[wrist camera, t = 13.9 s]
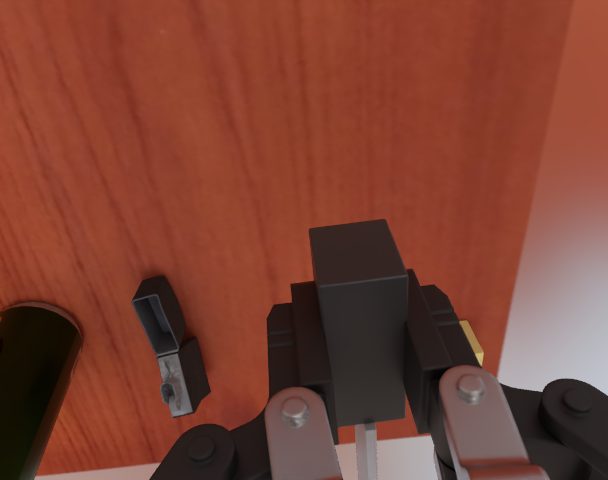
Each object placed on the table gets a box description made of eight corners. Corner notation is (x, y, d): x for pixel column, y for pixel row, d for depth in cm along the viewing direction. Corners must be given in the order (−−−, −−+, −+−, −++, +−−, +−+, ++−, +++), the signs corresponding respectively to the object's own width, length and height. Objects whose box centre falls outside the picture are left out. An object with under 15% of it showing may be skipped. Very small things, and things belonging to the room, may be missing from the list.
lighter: (149, 278, 33) (115, 288, 28) (179, 270, 33) (151, 278, 28) (181, 399, 33) (153, 431, 28) (211, 392, 33) (189, 422, 28)
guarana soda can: (93, 310, 31) (19, 503, 21) (78, 370, 34) (5, 567, 24) (-4, 287, 30) (-132, 483, 20) (-12, 352, 32) (-130, 554, 22)
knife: (308, 227, 13) (318, 292, 11) (385, 217, 13) (411, 280, 11) (339, 515, 21) (349, 585, 19) (388, 508, 21) (403, 578, 19)
